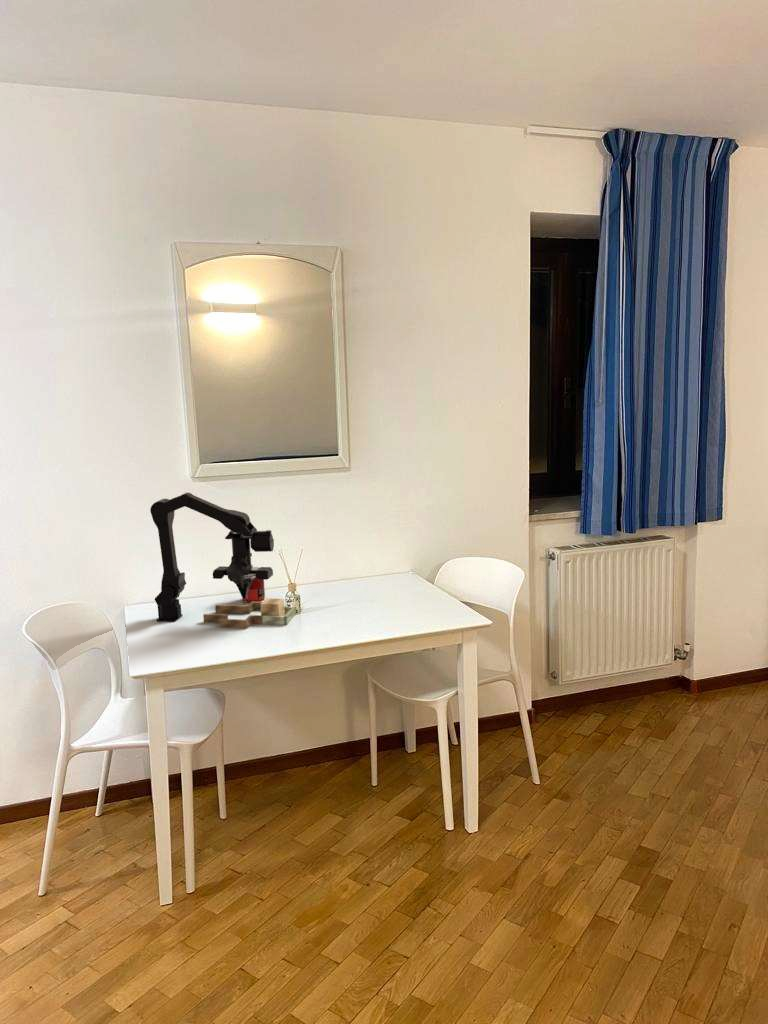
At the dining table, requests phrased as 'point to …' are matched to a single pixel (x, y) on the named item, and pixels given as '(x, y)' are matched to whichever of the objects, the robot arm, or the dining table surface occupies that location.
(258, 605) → the channel
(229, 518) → the robot arm
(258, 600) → the canned food
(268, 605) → the block
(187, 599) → the dining table surface
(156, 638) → the dining table surface
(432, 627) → the dining table surface
